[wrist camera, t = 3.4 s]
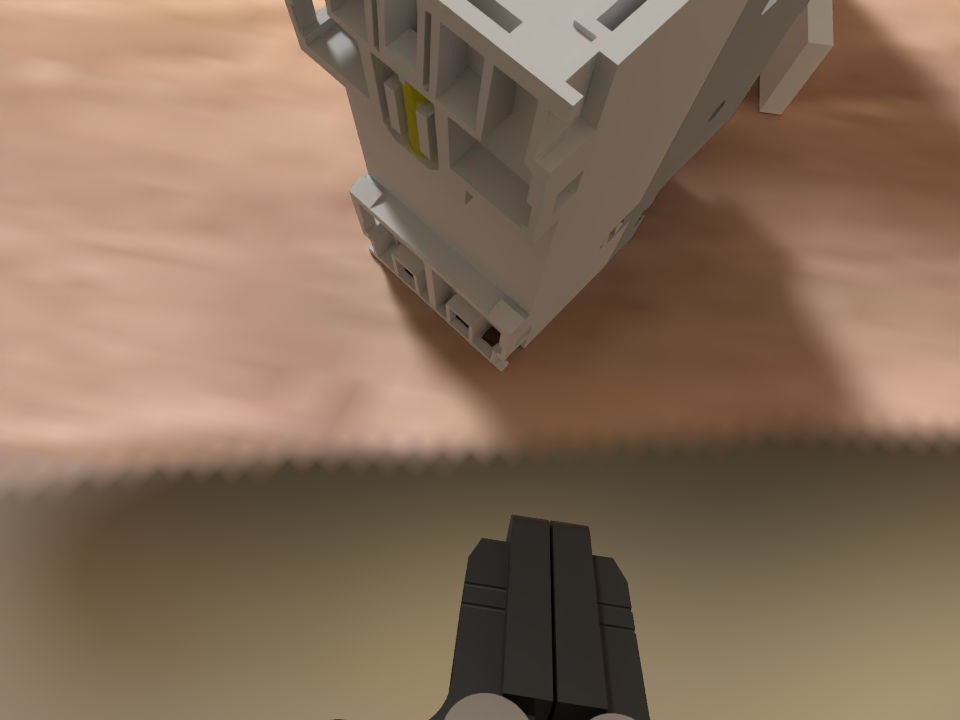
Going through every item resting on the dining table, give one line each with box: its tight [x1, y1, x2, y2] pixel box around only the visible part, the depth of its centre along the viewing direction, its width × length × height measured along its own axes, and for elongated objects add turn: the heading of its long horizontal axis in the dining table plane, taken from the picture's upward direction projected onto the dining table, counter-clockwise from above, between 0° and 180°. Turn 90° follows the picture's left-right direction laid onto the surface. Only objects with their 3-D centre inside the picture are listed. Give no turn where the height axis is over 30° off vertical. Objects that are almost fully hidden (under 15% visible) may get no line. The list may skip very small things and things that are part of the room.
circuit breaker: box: [285, 0, 810, 372], centre depth 18 cm, size 8×14×15 cm, turn 136°
